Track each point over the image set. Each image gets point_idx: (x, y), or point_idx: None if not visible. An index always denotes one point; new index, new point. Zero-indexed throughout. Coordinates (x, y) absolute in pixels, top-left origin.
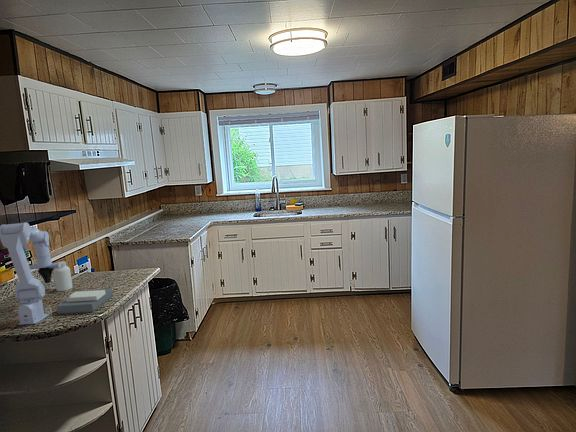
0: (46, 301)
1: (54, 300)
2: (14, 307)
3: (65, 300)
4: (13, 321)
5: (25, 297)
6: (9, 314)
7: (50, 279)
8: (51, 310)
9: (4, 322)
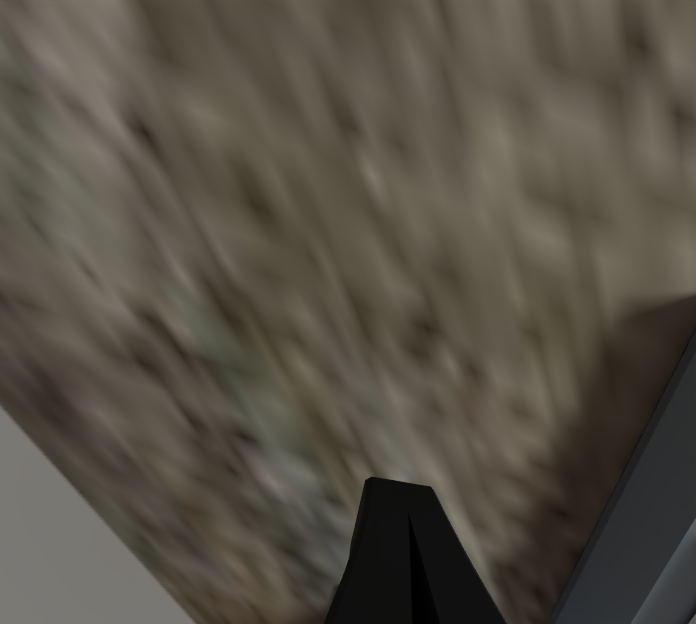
0: (297, 260)
1: (386, 258)
2: (23, 332)
3: (639, 608)
4: (247, 620)
5: None
6: (112, 490)
7: (452, 540)
8: (462, 525)
9: (188, 615)
